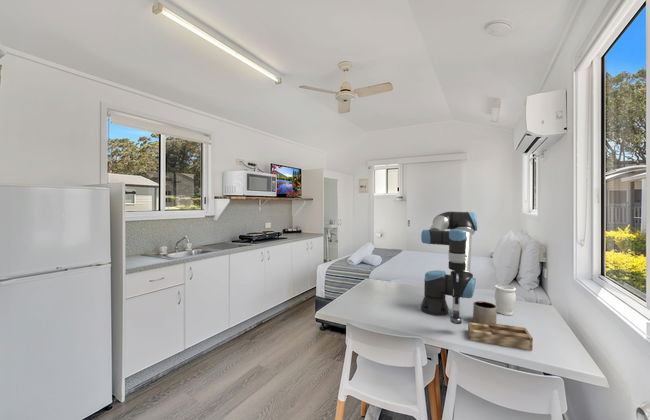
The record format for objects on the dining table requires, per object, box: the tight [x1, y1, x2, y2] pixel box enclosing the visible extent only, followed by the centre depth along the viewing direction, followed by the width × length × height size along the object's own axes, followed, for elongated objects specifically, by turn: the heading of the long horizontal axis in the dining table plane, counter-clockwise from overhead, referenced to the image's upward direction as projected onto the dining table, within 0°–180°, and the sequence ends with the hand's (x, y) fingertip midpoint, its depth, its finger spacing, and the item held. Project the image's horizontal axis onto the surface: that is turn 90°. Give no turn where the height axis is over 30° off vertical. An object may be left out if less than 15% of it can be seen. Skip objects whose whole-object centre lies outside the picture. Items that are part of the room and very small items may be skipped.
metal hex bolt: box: [449, 289, 463, 325], centre depth 139 cm, size 5×5×16 cm
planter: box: [472, 300, 497, 325], centre depth 151 cm, size 11×11×10 cm
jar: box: [494, 284, 517, 316], centre depth 165 cm, size 11×10×15 cm
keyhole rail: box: [467, 321, 534, 351], centre depth 132 cm, size 24×11×5 cm, turn 68°
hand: (456, 308), depth 139 cm, fingers closed on metal hex bolt, 3 cm apart
